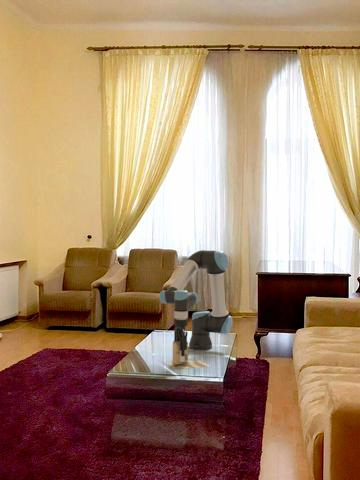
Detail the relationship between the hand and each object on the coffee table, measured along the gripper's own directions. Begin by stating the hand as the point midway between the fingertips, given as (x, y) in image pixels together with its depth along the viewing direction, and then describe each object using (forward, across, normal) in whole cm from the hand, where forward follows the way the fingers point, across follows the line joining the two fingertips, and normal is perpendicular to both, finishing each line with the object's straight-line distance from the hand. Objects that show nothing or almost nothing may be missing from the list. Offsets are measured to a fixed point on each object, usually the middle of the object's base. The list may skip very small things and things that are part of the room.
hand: (180, 360), depth 302 cm
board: (+4, 0, +5) cm, 6 cm away
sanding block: (+2, 0, 0) cm, 2 cm away
